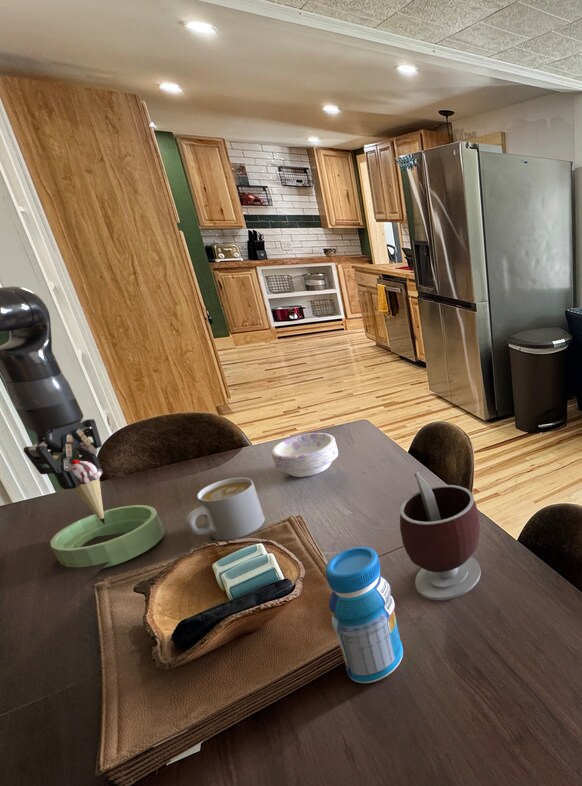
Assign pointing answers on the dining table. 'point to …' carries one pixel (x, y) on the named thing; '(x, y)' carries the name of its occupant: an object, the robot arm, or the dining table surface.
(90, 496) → the ice cream cone
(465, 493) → the mate gourd
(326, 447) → the paper bowls
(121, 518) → the green ring
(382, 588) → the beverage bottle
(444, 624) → the dining table surface
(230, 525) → the coffee mug
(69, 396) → the robot arm
